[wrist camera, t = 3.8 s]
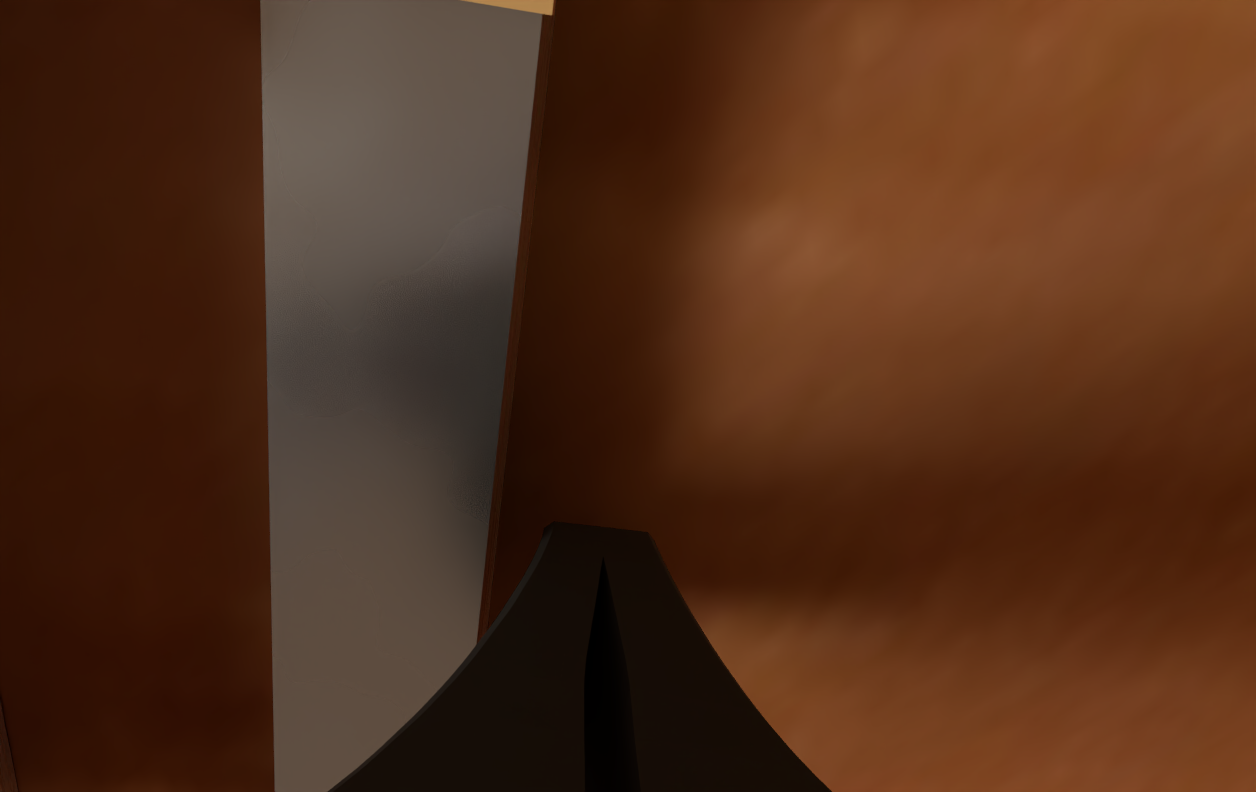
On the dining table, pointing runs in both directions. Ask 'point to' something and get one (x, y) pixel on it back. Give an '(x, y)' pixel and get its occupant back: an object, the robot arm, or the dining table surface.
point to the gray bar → (389, 347)
